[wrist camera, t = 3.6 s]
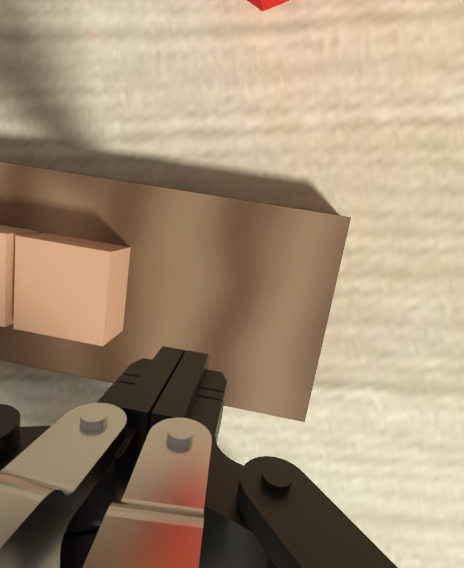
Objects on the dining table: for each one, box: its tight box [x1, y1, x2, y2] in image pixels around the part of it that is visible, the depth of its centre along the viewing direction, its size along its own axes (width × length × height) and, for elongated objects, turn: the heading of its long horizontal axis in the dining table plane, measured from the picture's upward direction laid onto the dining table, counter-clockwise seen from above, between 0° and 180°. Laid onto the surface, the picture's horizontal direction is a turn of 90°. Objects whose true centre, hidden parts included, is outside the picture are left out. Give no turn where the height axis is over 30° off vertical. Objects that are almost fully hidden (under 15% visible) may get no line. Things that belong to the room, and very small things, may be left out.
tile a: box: [13, 233, 131, 346], centre depth 19 cm, size 5×5×2 cm
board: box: [0, 162, 351, 422], centre depth 21 cm, size 23×12×2 cm, turn 82°
